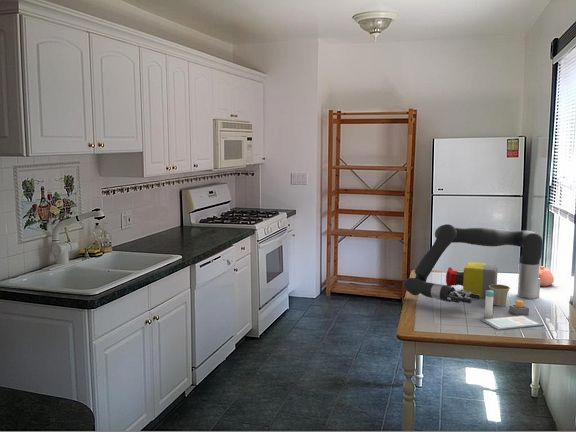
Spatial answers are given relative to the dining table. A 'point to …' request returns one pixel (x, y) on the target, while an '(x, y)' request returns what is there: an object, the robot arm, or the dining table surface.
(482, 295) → the emergency stop button
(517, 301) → the button
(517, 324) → the placemat
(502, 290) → the flower pot
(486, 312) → the marker
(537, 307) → the dining table surface
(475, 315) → the dining table surface
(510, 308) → the button housing
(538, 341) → the dining table surface
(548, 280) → the piggy bank
